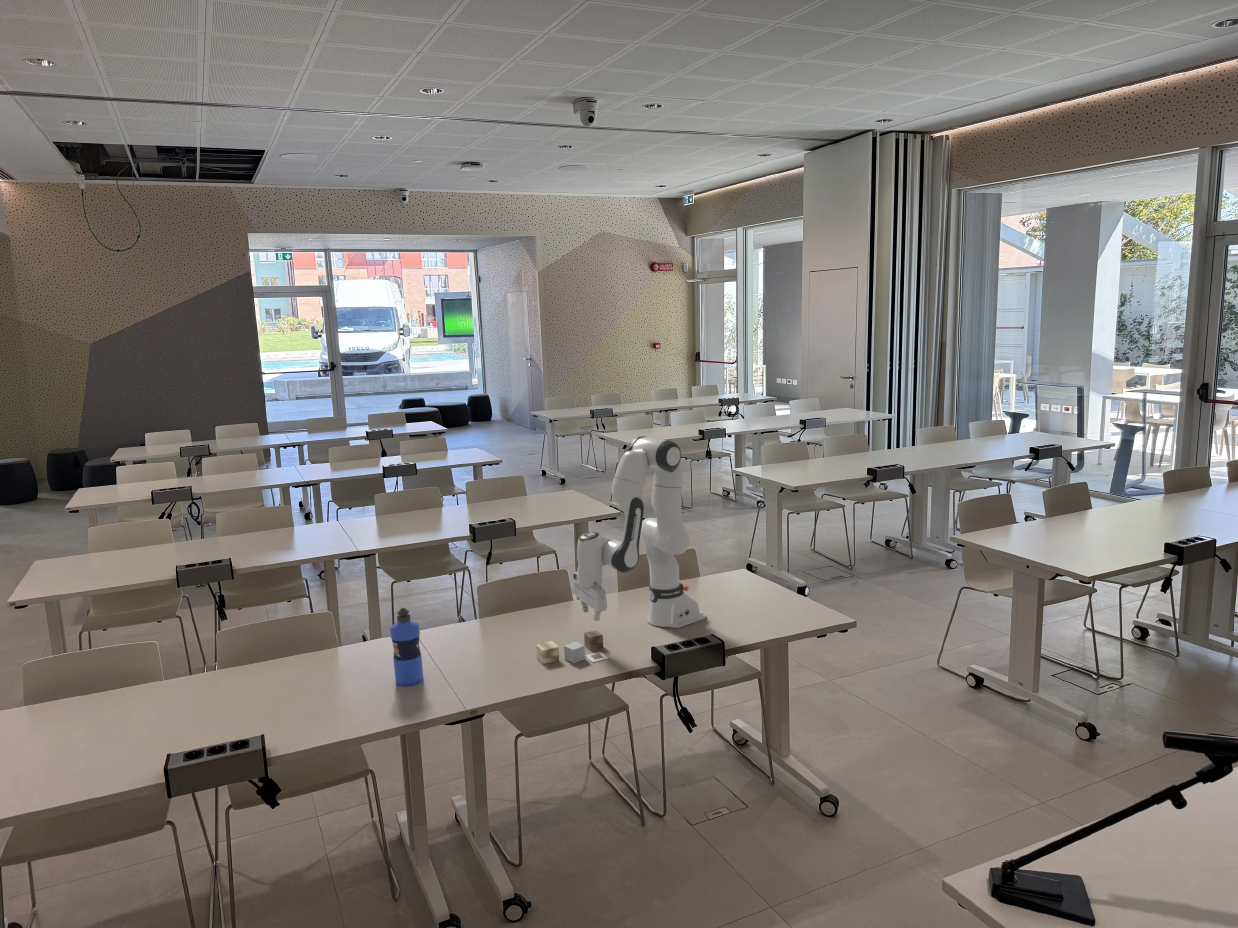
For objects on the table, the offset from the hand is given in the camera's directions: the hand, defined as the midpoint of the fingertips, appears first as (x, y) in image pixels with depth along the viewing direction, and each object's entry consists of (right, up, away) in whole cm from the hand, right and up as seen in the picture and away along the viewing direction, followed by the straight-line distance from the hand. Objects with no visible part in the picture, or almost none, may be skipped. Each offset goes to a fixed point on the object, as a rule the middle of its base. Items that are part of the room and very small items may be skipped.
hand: (591, 615), depth 300 cm
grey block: (-5, -14, -7) cm, 16 cm away
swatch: (+2, -13, -7) cm, 15 cm away
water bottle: (-60, -18, -18) cm, 65 cm away
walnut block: (+1, -12, +3) cm, 12 cm away
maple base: (-15, -14, -6) cm, 21 cm away
